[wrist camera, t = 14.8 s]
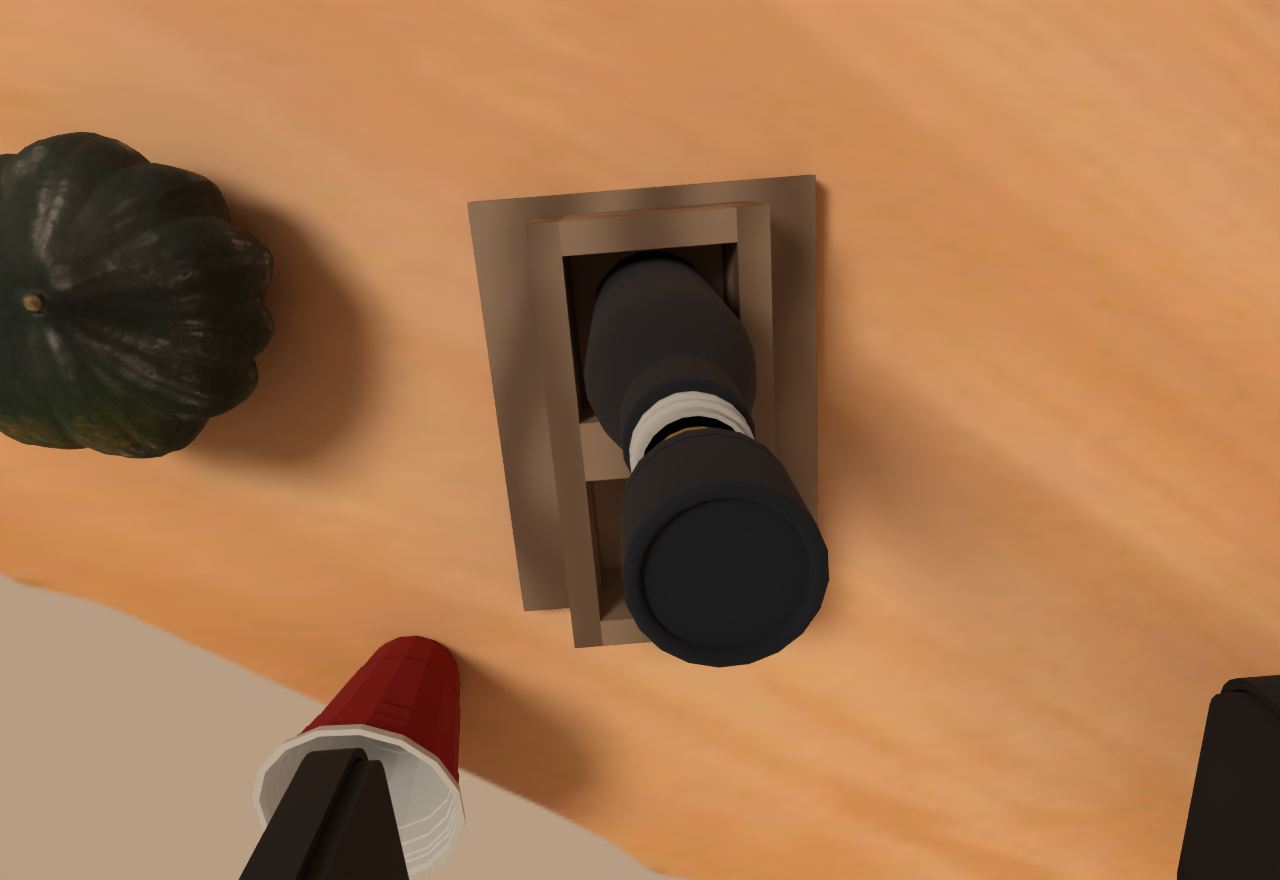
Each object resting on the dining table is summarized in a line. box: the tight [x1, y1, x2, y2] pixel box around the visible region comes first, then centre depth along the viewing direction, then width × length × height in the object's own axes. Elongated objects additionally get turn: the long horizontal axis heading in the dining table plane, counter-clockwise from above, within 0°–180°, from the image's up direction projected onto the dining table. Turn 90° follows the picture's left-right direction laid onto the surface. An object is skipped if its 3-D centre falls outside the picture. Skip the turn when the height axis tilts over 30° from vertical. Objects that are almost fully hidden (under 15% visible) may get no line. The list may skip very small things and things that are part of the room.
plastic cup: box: [252, 636, 465, 880], centre depth 46 cm, size 11×11×12 cm
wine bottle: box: [584, 250, 829, 667], centre depth 29 cm, size 6×6×30 cm
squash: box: [0, 132, 274, 458], centre depth 38 cm, size 14×15×15 cm
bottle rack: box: [467, 175, 817, 648], centre depth 43 cm, size 18×24×8 cm
